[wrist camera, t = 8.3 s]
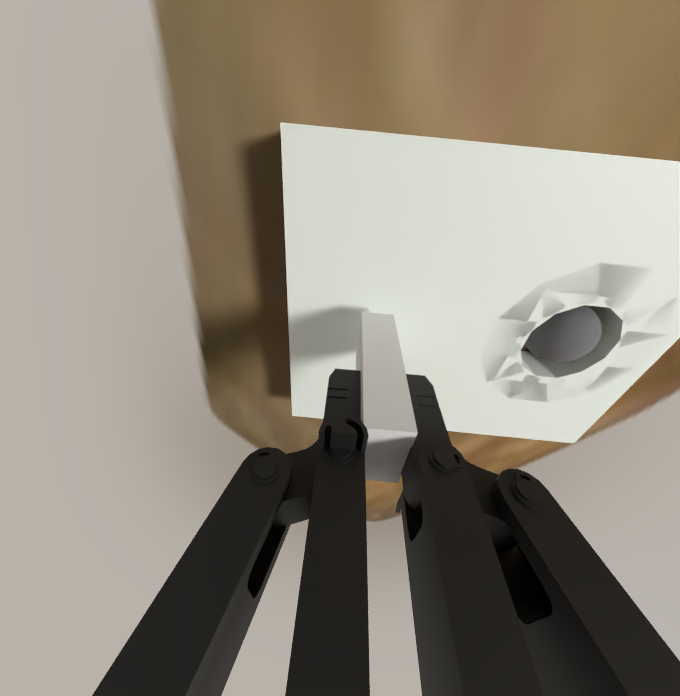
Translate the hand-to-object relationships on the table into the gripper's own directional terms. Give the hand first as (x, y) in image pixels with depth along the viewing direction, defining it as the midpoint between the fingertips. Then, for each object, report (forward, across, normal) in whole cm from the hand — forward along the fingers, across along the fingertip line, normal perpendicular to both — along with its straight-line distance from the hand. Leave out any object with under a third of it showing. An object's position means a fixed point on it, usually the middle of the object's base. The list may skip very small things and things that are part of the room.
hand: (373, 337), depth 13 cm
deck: (+4, +6, 0) cm, 7 cm away
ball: (+2, +10, 0) cm, 10 cm away
